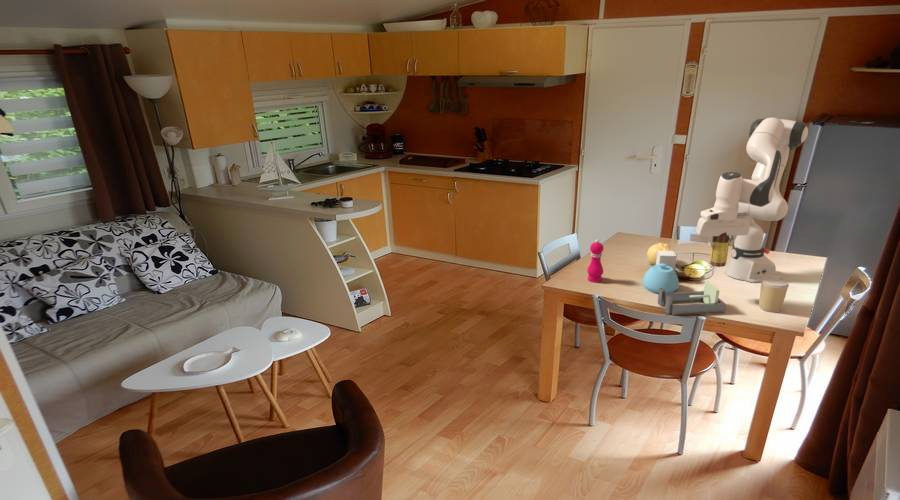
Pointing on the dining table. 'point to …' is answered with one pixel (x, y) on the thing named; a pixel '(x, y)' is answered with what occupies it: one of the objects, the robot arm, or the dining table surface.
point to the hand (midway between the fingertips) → (720, 245)
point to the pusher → (708, 293)
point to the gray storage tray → (688, 308)
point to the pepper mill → (595, 262)
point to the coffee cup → (772, 294)
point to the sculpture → (653, 252)
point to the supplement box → (666, 258)
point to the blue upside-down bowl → (661, 279)
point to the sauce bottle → (719, 250)
